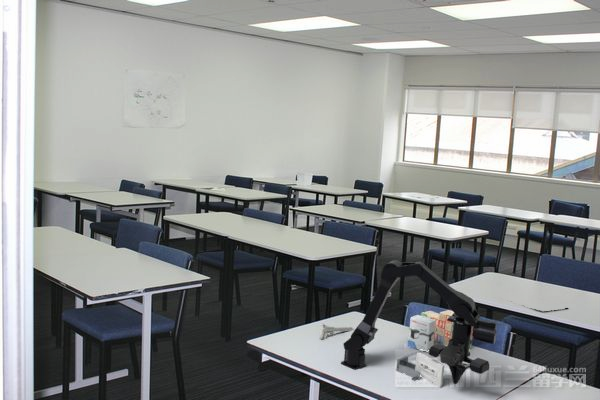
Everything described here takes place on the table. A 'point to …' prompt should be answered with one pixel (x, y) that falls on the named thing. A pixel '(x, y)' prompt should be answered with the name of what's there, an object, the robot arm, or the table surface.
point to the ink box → (421, 332)
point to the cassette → (431, 375)
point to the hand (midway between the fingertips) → (455, 383)
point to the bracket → (407, 368)
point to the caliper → (332, 330)
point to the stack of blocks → (443, 326)
